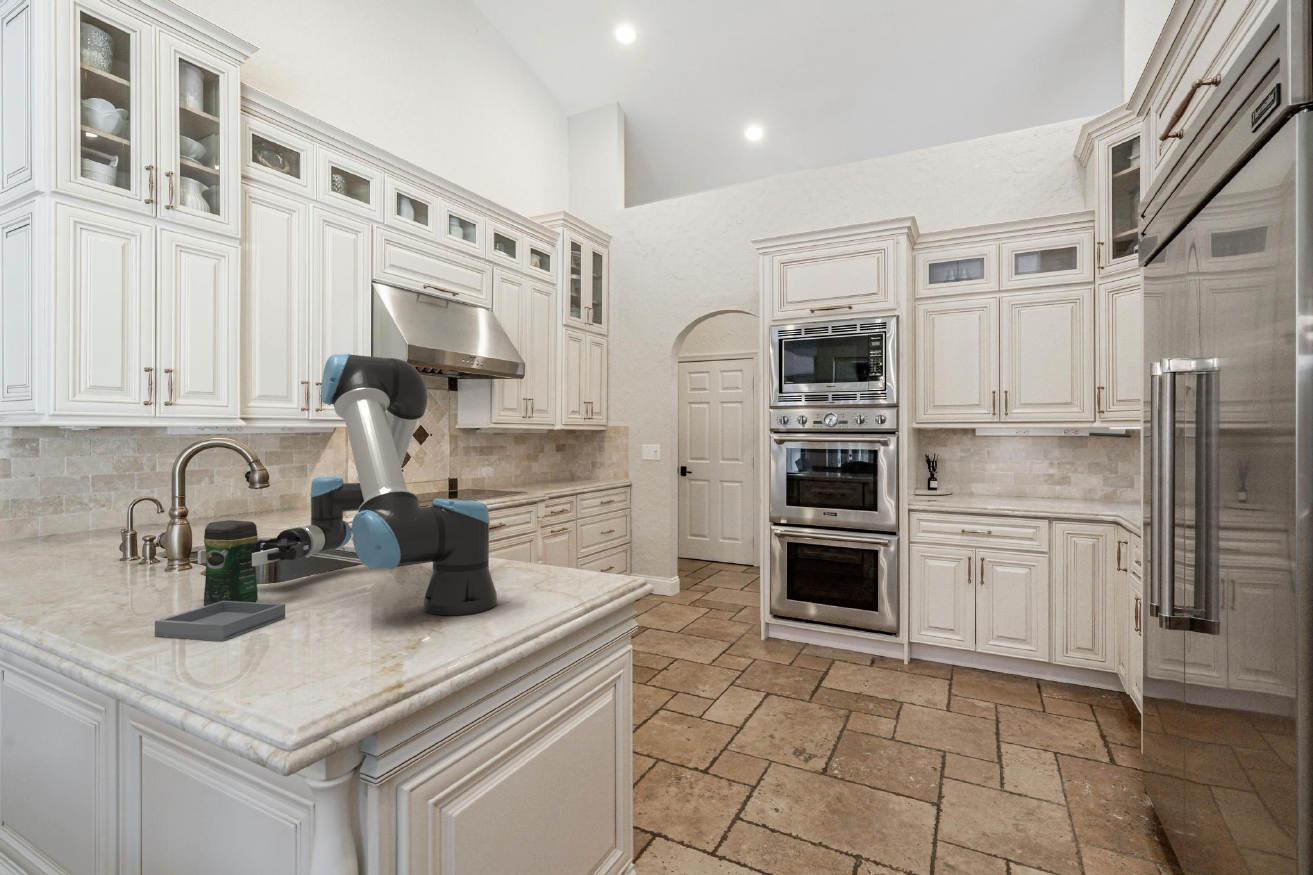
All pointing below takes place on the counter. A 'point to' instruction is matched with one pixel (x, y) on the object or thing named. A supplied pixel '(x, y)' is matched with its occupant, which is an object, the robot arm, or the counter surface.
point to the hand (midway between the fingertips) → (225, 558)
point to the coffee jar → (230, 562)
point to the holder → (220, 620)
